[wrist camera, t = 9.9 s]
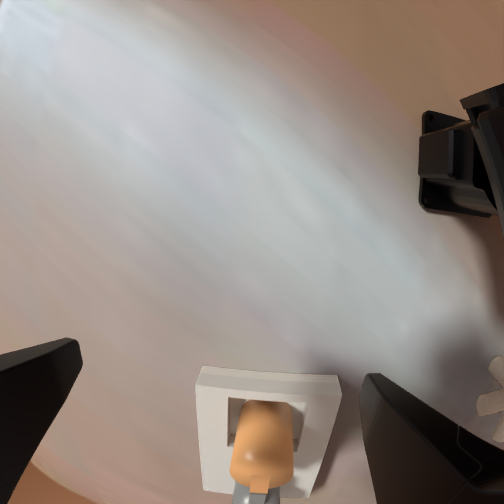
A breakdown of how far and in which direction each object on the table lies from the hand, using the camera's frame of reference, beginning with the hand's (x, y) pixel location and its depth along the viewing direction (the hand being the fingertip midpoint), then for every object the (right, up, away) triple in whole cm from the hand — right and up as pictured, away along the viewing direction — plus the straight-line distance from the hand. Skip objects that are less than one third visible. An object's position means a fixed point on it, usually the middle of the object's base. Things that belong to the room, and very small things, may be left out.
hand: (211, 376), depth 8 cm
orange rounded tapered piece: (+2, -9, +13) cm, 16 cm away
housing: (+2, -12, +15) cm, 19 cm away
